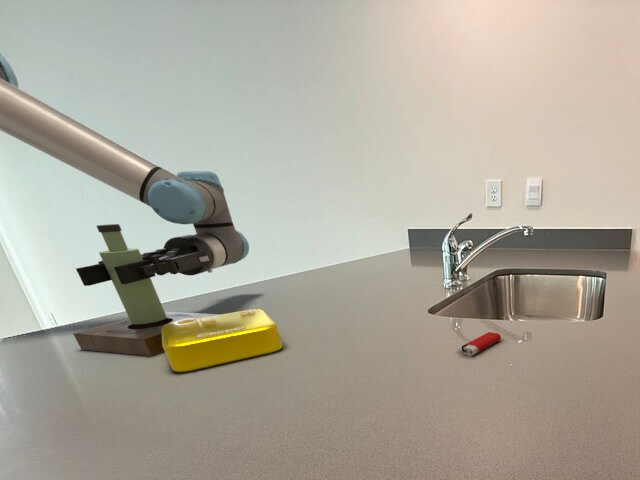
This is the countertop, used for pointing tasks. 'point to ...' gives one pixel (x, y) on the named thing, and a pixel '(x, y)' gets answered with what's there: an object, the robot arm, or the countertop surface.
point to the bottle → (135, 295)
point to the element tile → (219, 339)
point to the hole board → (130, 335)
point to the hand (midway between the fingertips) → (101, 276)
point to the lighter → (480, 343)
